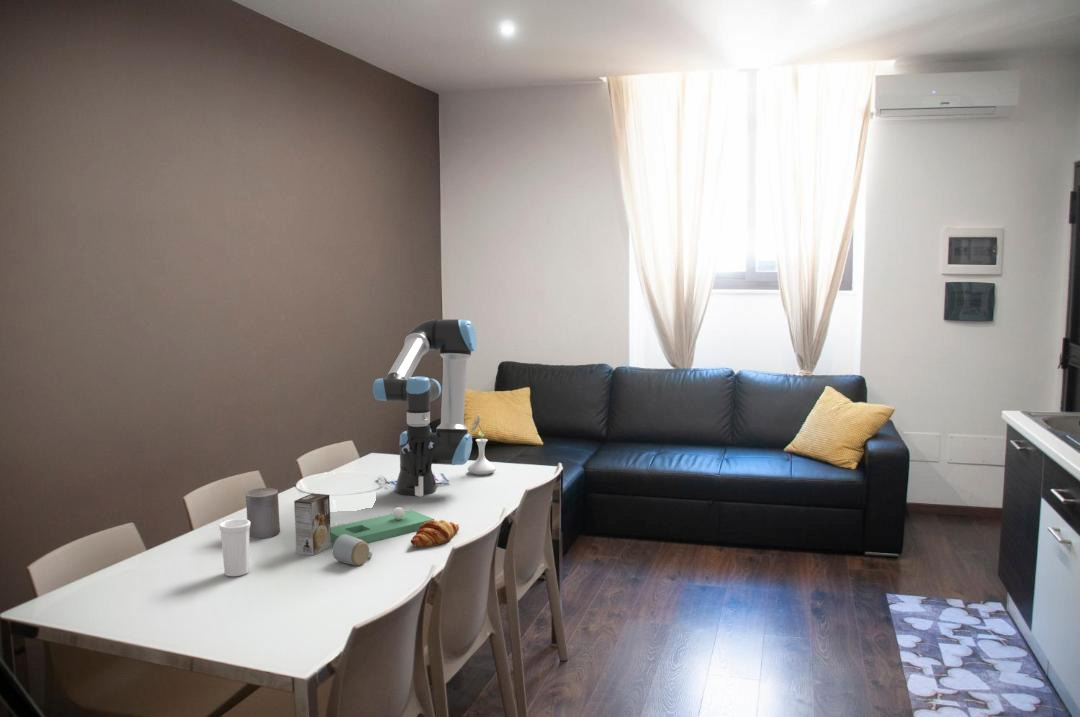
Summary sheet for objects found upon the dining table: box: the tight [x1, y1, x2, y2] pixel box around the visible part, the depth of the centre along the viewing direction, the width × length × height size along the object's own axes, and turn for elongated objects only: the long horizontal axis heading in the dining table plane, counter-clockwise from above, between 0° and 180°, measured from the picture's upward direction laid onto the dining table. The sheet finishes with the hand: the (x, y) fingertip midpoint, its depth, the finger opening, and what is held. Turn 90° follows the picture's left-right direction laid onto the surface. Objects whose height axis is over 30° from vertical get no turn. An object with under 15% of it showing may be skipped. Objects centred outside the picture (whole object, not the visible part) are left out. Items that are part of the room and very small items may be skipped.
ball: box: [392, 506, 406, 520], centre depth 276 cm, size 4×4×4 cm
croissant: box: [410, 519, 460, 548], centre depth 264 cm, size 21×10×8 cm, turn 147°
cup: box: [218, 518, 251, 577], centre depth 234 cm, size 8×8×14 cm
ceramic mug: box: [332, 534, 373, 566], centre depth 245 cm, size 11×8×8 cm
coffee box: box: [293, 492, 332, 556], centre depth 254 cm, size 9×6×16 cm
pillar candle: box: [245, 487, 281, 540], centre depth 268 cm, size 10×10×15 cm
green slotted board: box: [330, 509, 435, 544], centre depth 272 cm, size 32×14×2 cm, turn 132°
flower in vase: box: [467, 413, 496, 476], centre depth 345 cm, size 13×11×25 cm
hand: (419, 495), depth 281 cm, fingers closed
